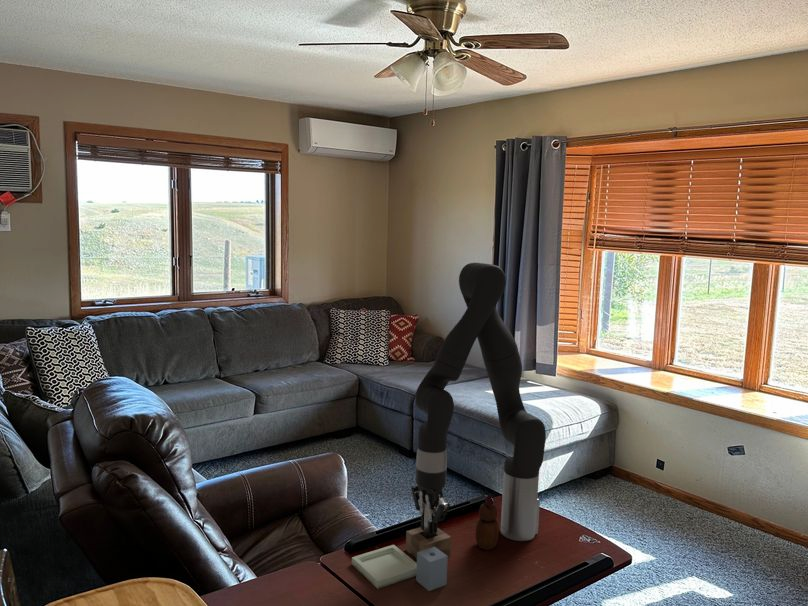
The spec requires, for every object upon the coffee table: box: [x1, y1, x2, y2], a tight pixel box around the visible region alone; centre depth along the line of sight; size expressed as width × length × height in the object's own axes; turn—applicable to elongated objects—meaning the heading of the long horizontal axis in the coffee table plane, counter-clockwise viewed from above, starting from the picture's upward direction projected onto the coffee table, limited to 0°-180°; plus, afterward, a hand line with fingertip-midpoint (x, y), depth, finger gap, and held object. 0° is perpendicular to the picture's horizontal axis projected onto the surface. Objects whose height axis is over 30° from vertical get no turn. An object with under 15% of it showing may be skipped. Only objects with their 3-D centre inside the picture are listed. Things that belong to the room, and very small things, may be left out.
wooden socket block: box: [405, 526, 452, 560], centre depth 160 cm, size 8×8×5 cm
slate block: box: [415, 547, 449, 592], centre depth 147 cm, size 5×5×7 cm
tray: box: [351, 544, 417, 590], centre depth 153 cm, size 12×12×2 cm
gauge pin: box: [423, 504, 435, 539], centre depth 160 cm, size 2×2×10 cm
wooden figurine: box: [475, 492, 499, 551], centre depth 164 cm, size 7×6×15 cm
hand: (428, 531), depth 160 cm, fingers closed on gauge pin, 2 cm apart
